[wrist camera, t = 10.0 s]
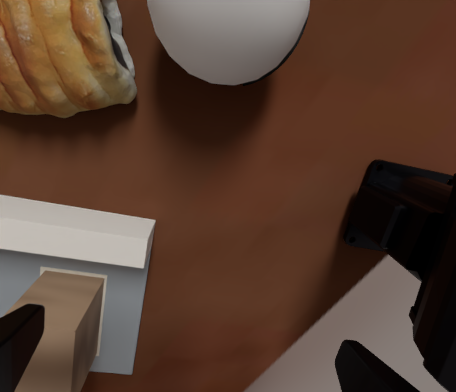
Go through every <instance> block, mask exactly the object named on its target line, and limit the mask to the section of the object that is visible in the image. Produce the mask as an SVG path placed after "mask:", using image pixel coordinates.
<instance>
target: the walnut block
mask: <svg viewBox="0 0 456 392" xmlns="http://www.w3.org/2000/svg"><path fill="white" fill-rule="evenodd" d="M103 287H104V278H99V277H91V276H84V275H76V274H69V273H61V272H54V271H46V270H45V271H44V272H43V274H42V275H41V276H40V277H39V278H38V279H37V280H36V281H35V282H34V283H33V284H32V285H31V286H30V288H29V289H28V290H27V291H26V292H25V293H24V294H23V295H22V296H21V297H20V298H19V299H18V301H17V302H16V303H15V304H14V305H13V306H12V307H11V308H10V309H9V310H8V311H7V312H6V313H5V315H6V314H8V313H10V312H12V311H14V310H16V309H18V308H19V307H21V306H23V305H25V304H28V303H33V304H41V305H43V306H44V307H45V324H44V333H43V336H42V338H41V340H40V342H39V344H38V346H37V348H36V350H35V352H34V354H33V356H32V358H31V360H30V362H29V364H28V366H27V368H26V370H25V372H24V374H23V376H22V378H21V380H20V382H19V383H18V385H17V387H16V389H15V391H14V392H81V389H82V387H83V385H84V382H85V380H86V377H87V375H88V373H89V370H90V368H91V366H92V363H93V361H94V358H95V356H96V354H97V345H98V336H99V326H100V316H101V307H102V297H103Z"/></svg>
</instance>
